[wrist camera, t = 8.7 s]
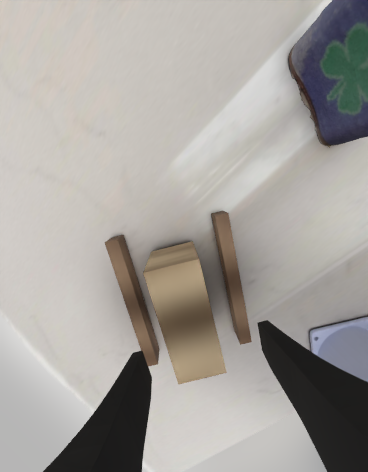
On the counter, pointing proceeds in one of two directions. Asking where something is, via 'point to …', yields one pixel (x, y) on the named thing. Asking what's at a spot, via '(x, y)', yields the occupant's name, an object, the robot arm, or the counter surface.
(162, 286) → the light wooden block
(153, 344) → the peg frame
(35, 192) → the counter surface
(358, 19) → the flask
